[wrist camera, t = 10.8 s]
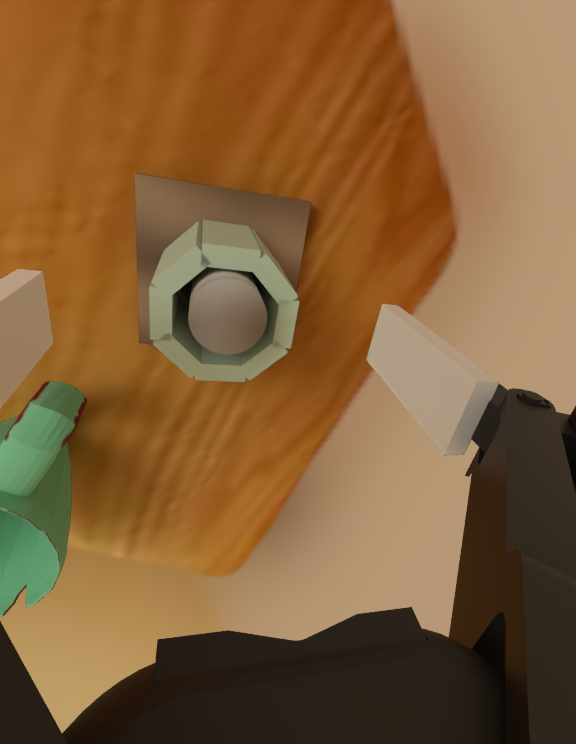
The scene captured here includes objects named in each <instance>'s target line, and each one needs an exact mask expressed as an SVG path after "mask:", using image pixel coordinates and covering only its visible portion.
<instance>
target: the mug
mask: <svg viewBox="0 0 576 744" xmlns="http://www.w3.org/2000/svg"><path fill="white" fill-rule="evenodd" d="M86 402H87V400H86V398H85V397H84V395H83V394H82V393H81V392H80V391H79V390H78V389H77V388H75V387H73V386H71V385H68V384H66V383H63V382H52V381H49V382H45V383H44V384H43V385H42V386H41V388H40V389H39V391H38V392H37V393H36V394H35V395H34V397H33V398H32V399H31V400H30V401H29V402H28V404H27V405H26V407H25V408H24V410H23V411H22V412H21V414H20V415H19V417H16V418H11V419H8V420H6V421H4V422H1V423H0V617H2V616H4V615H5V614H6V613H7V612H8V610H9V609H10V608H11V607H12V606H13V605H14V604H15V602H16V600H17V598H18V596H19V595H20V593H21V592H22V591H23V590H24V589H25V588H26V586H27V593H26V607H29V606H31V605H34V604H36V603H37V602H39V601H40V600H41V599H42V598H43V597H44V596H45V595H46V594H47V593H49V591H51V590H52V589H53V587H54V585H55V583H56V581H57V579H58V577H59V574H60V572H61V570H62V567H63V564H64V561H65V557H66V552H67V543H68V535H69V528H70V520H71V504H72V483H71V461H70V455H69V449H68V443H67V441H68V439H69V437H70V436H71V434H72V433H73V431H74V430H75V428H76V426H77V424H78V422H79V419H80V417H81V415H82V412H83V410H84V408H85V405H86Z"/></svg>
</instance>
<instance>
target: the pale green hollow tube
mask: <svg viewBox="0 0 576 744" xmlns="http://www.w3.org/2000/svg"><path fill="white" fill-rule="evenodd" d="M206 267H213V268H222V269H231V270H240V271H249V272H253V273H254V274H255V275H256V277H257V278H258V279H259V280H260V282H261V283H262V284H261V292H260V295H261V297H262V300H263V302H264V304H265V307H266V311H267V324H266V328H265V331H264V333H263V335H262V337H261V338H260V340H259V341H258V342H257V343H256V344H255V345H254V346H252V347H251V348H250V349H248V350H246V351H244V352H241V353H237V354H231V355H225V354H219V353H215V352H212V351H210V350H208V349H206V348H205V347H203V346H202V345H201V344H200V343H199V342H198V341H197V340H196V339H195V337H194V336H193V334H192V332H191V330H190V327H189V322H188V313H189V304H188V303H187V302H186V301H185V300H184V299H183V297H182V296H181V295H180V294H179V289H180V288H182V287H183V286H184V285H185V284H186V283H188V282H189V281H190V280H191V279H193V278H194V277H195V276H196V275H197V274H199V273H200V272H201V271H202V270H204V269H205V268H206ZM297 297H298V295H297V293H296V292H295V290H294V288H293V287H292V285H291V283H290V282H289V280H288V278H287V277H286V275H285V273H284V272H283V270H282V268H281V267H280V265H279V263H278V262H277V261H276V259H275V258H274V257H273V255H272V254H271V253H270V251H269V250H268V249H267V247H266V246H265V245H264V243H263V242H262V240H261V239H260V238H259V236H258V235H257V234H256V232H255V231H254V230H253V229H252V230H250V228H249V226H245V225H238V224H231V223H224V222H216V221H209V220H203V226H202V225H201V224H200V222H199V221H198V222H196V223H195V224H194V225H193V226H192V227H191V228H189V229H188V230H187V231H186V232H185V233H183V234H182V235H181V236H180V237H179V238H178V239H176V240H175V241H174V242H173V243H172V244H171V245H169V246H168V247H167V248H166V249H165V250H164V252H163V254H162V256H161V259H160V261H159V264H158V266H157V269H156V271H155V274H154V276H153V279H152V281H151V284H150V286H149V309H150V340H154V341H153V345H154V346H155V347H156V348H157V349H158V350H159V351H160V352H162V353H163V354H164V355H165V356H166V357H167V358H168V359H169V360H170V361H172V362H173V363H174V364H175V365H176V366H177V367H178V368H179V369H181V370H182V371H183V372H184V373H185V374H186V375H187V376H188V377H189V378H191V377H193V376H194V375H195V374H196V375H195V380H204V381H229V382H245V377H246V378H247V379H248V380H249V381H250V380H251V379H253V378H254V377H255V376H257V375H258V374H260V373H261V372H262V371H264V370H265V369H266V368H268V367H269V366H271V365H272V364H273V363H275V362H276V361H277V360H279V359H280V358H281V357H283V356H284V355H286V354H287V353H288V351H287V349H286V348H290V349H291V345H292V340H293V334H294V329H295V324H296V318H297V313H298V308H299V302H300V301H299V300H298V298H297Z"/></svg>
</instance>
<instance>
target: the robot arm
mask: <svg viewBox="0 0 576 744" xmlns="http://www.w3.org/2000/svg"><path fill="white" fill-rule="evenodd" d="M52 344H53V337H52V330H51V324H50V317H49V310H48V303H47V297H46V290H45V283H44V277H43V271H34V270H24V269H17V270H15V271H13V272H12V273H10V274H8V275H7V276H5V277H3V278H2V279H0V409H1V407H2V406H3V405H4V404H5V402H6V401H7V400H8V399H9V398H10V396H11V395H12V394H13V393H14V391H15V390H16V389H17V388H18V386H19V385H20V384H21V383H22V381H23V380H24V379H25V378H26V376H27V375H28V374H29V373H30V371H31V370H32V369H33V368H34V366H35V365H36V364H37V363H38V361H39V360H40V359H41V358H42V356H43V355H44V354H45V353H46V351H47V350H48V349H49V348H50V346H51V345H52ZM366 360H367V361H368V363H369V364H370V365H371V366H372V368H373V369H374V370H375V371H376V373H377V374H378V375H379V376H380V377H381V379H382V380H383V381H384V382H385V384H386V385H387V386H388V387H389V389H390V390H391V391H392V392H393V393H394V395H395V396H396V397H397V398H398V400H399V401H400V402H401V403H402V405H403V406H404V407H405V408H406V409H407V411H408V412H409V413H410V414H411V416H412V417H413V418H414V419H415V421H416V422H417V423H418V424H419V425H420V427H421V428H422V429H423V430H424V432H425V433H426V434H427V435H428V436H429V438H430V439H431V440H432V441H433V443H434V444H435V445H436V446H437V447H438V449H439V450H440V451H441V453H442V454H443V455H464V454H465V452H466V450H467V448H468V446H469V444H470V442H471V440H473V441H474V442H475V443H476V444H477V445H478V446H479V449H478V451H477V453H476V455H475V457H474V459H473V461H472V463H471V465H470V467H469V469H468V471H467V473H466V476H470V474H472V476H471V484H470V491H469V498H468V505H467V512H466V519H465V527H464V533H463V541H462V548H461V555H460V562H459V569H458V576H457V584H456V591H455V598H454V605H453V612H452V619H451V627H450V633H449V637H446V636H444V635H442V634H439V633H436V632H433V631H429V630H426V629H422V628H421V626H420V624H419V622H418V620H417V618H416V616H415V614H414V611H413V609H412V607H409V608H401V609H394V610H386V611H378V612H370V613H362V614H357V615H354V616H352V617H350V618H348V619H346V620H344V621H342V622H340V623H338V624H336V625H333V626H331V627H329V628H327V629H325V630H323V631H321V632H319V633H317V634H315V635H313V636H310V637H308V638H306V639H304V640H300V641H292V640H286V639H279V638H273V637H266V636H260V635H253V634H247V633H241V632H234V631H221V632H213V633H205V634H197V635H189V636H182V637H174V638H166V639H158V642H157V652H156V663H154V664H152V665H149V666H147V667H145V668H143V669H140V670H138V671H137V672H135V673H133V674H132V675H130V676H128V677H126V678H125V679H123V680H121V681H120V682H118V683H117V684H116V685H114V686H113V687H112V688H110V689H109V690H107V691H106V692H105V693H103V694H102V695H101V696H100V697H99V698H97V699H96V700H95V701H94V702H93V703H92V704H91V705H90V706H88V707H87V708H86V709H85V710H84V711H83V712H82V713H81V714H80V715H79V716H78V717H77V718H76V719H75V721H74V722H73V723H72V724H71V725H70V726H69V727H68V728H67V729H66V730H65V731H64V732H63V733H61V731H60V729H59V728H58V726H57V724H56V722H55V720H54V718H53V717H52V715H51V713H50V711H49V709H48V708H47V706H46V704H45V702H44V700H43V698H42V697H41V695H40V693H39V691H38V689H37V687H36V686H35V684H34V682H33V680H32V678H31V677H30V675H29V673H28V671H27V669H26V667H25V666H24V664H23V662H22V661H21V658H20V657H19V655H18V653H17V651H16V649H15V647H14V646H13V644H12V642H11V640H10V638H9V637H8V635H7V633H6V631H5V629H4V627H3V626H2V624H1V622H0V744H576V406H575V408H574V410H573V412H572V413H571V415H568V414H563V413H558V412H556V410H555V407H554V406H553V404H552V403H551V402H550V401H548V400H546V399H545V398H543V397H542V396H540V395H539V394H537V393H534V392H531V391H526V390H522V389H509V390H507V389H506V388H504V387H503V386H502V385H500V384H499V381H497V380H496V379H495V378H493V377H492V376H491V375H489V374H488V373H487V372H485V371H484V370H483V369H481V368H480V367H479V366H477V365H476V364H475V363H473V362H472V361H471V360H470V359H468V358H467V357H466V356H464V355H463V354H462V353H460V352H459V351H458V350H456V349H455V348H454V347H452V346H451V345H450V344H448V343H447V342H446V341H444V340H443V339H442V338H440V337H439V336H438V335H436V334H435V333H434V332H432V331H431V330H430V329H429V328H427V327H426V326H425V325H423V324H422V323H421V322H419V321H418V320H417V319H415V318H414V317H413V316H411V315H410V314H409V313H407V312H406V311H405V310H403V309H402V308H401V307H399V306H398V305H389V304H382V306H381V310H380V313H379V317H378V320H377V324H376V327H375V331H374V334H373V338H372V341H371V345H370V348H369V352H368V356H367V359H366Z"/></svg>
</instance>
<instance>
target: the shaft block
mask: <svg viewBox="0 0 576 744" xmlns="http://www.w3.org/2000/svg"><path fill="white" fill-rule="evenodd" d="M135 199H136V236H137V273H138V310H139V343H145V344H153V341H154V340H150V309H149V286H150V284H151V281H152V279H153V276H154V274H155V271H156V269H157V266H158V264H159V261H160V259H161V256H162V254H163V252H164V250H165V249H166V248H167V247H168V246H169V245H171V244H172V243H173V242H174V241H175V240H176V239H178V238H179V237H180V236H181V235H182V234H183V233H185V232H186V231H187V230H188V229H189V228H191V227H192V226H193V225H194V224H195V223H196V222H198V221H199V222H200V224H201V225H202V226H203V220H209V221H216V222H224V223H231V224H238V225H245V226H249V228H250V230H252V229H253V230H254V231H255V232H256V234H257V235H258V236H259V238H260V239H261V240H262V242H263V243H264V245H265V246H266V247H267V249H268V250H269V251H270V253H271V254H272V255H273V257H274V258H275V259H276V261H277V262H278V263H279V265H280V267H281V268H282V270H283V272H284V273H285V275H286V277H287V278H288V280H289V282H290V283H291V285H292V287H293V288H294V290H295V292H296V291H297V285H298V279H299V273H300V267H301V261H302V255H303V248H304V242H305V236H306V230H307V224H308V218H309V212H310V206H311V202H309V201H304V200H298V199H291V198H285V197H279V196H273V195H267V194H261V193H254V192H248V191H242V190H236V189H230V188H224V187H217V186H211V185H205V184H199V183H193V182H187V181H180V180H174V179H168V178H162V177H156V176H150V175H143V174H135ZM261 284H262V283H261V282H260V280H259V279H258V278H257V277H256V275H255V274H254V273H253V272H249V271H240V270H231V269H222V268H213V267H206V268H205V269H204V270H202V271H201V272H200V273H199V274H197V275H196V276H195V277H194V278H193V279H191V280H190V281H189V282H188V283H186V284H185V285H184V286H183V287H182V288H180V289H179V294H180V295H181V296H182V297H183V299H184V300H185V301H186V302H187V303H188V304H189V313H188V322H189V327H190V330H191V332H192V334H193V336H194V337H195V339H196V340H197V341H198V342H199V343H200V344H201V345H202V346H203V347H205V348H206V349H208V350H210V351H212V352H215V353H219V354H225V355H231V354H237V353H241V352H244V351H246V350H248V349H250V348H251V347H252V346H254V345H255V344H256V343H257V342H258V341H259V340H260V338H261V337H262V335H263V333H264V331H265V328H266V324H267V311H266V307H265V304H264V302H263V300H262V297H261V295H260V292H261ZM286 349H287V348H286Z"/></svg>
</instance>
